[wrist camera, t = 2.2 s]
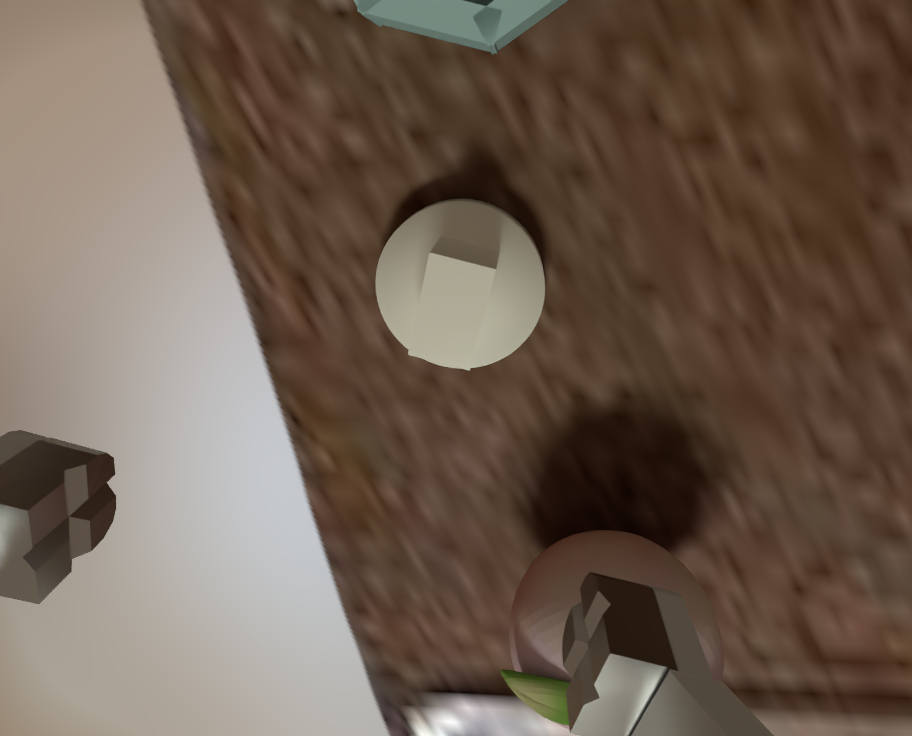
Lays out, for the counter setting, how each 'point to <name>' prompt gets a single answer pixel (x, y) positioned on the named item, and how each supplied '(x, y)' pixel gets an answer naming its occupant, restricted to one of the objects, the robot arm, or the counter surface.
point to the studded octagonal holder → (461, 18)
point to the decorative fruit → (558, 589)
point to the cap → (460, 283)
